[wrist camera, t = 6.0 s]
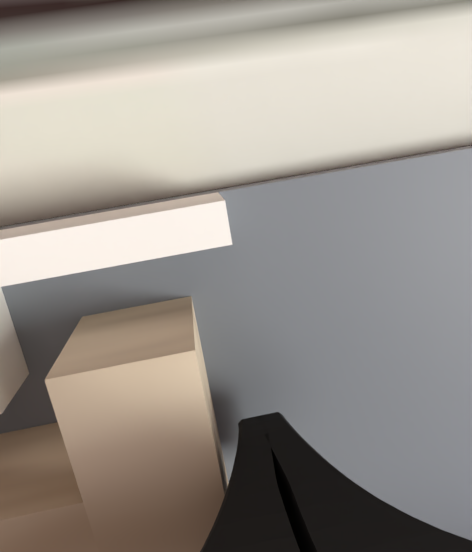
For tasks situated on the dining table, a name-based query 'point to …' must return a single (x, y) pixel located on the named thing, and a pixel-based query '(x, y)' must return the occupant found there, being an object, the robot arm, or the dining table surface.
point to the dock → (99, 254)
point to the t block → (119, 442)
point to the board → (314, 322)
